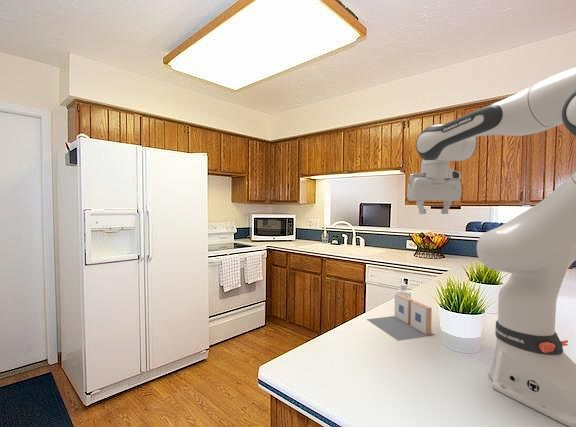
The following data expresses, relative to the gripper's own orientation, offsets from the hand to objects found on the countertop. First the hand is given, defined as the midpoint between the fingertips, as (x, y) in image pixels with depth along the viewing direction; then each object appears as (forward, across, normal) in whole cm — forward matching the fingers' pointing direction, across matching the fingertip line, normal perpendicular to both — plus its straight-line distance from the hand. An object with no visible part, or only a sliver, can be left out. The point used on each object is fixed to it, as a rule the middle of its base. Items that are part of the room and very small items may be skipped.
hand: (433, 214), depth 104 cm
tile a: (+41, -3, +2) cm, 41 cm away
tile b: (+41, -3, +11) cm, 42 cm away
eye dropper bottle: (+41, +6, +22) cm, 48 cm away
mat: (+41, -8, +6) cm, 43 cm away
